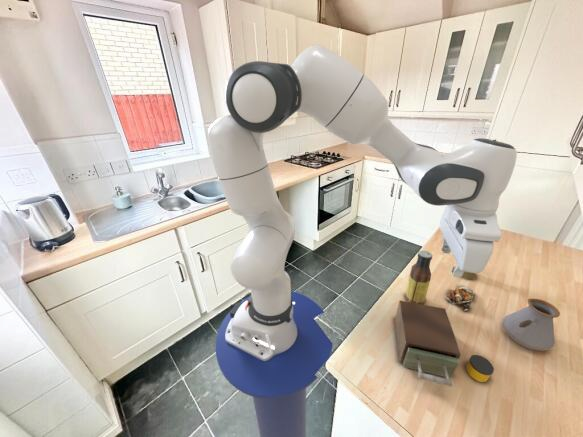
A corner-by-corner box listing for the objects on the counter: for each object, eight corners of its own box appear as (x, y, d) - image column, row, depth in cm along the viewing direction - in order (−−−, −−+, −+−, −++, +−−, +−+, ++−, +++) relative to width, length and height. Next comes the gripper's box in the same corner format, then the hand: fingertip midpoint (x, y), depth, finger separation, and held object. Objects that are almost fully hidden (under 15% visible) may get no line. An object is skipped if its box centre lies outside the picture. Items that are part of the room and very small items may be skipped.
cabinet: (450, 374, 64) (461, 354, 60) (399, 362, 67) (406, 342, 63) (437, 327, 76) (445, 308, 72) (394, 319, 79) (399, 300, 75)
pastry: (475, 293, 88) (479, 285, 86) (467, 312, 81) (470, 305, 79) (454, 283, 92) (456, 276, 91) (444, 301, 85) (446, 293, 83)
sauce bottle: (426, 298, 86) (441, 253, 77) (420, 309, 82) (435, 263, 73) (407, 289, 90) (419, 246, 81) (401, 299, 86) (413, 254, 77)
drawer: (456, 398, 58) (466, 382, 55) (405, 385, 61) (411, 369, 58) (438, 333, 73) (444, 317, 70) (398, 324, 76) (402, 309, 73)
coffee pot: (510, 315, 79) (531, 281, 72) (557, 343, 70) (585, 307, 63) (473, 345, 71) (492, 309, 63) (521, 382, 62) (550, 345, 54)
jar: (469, 379, 62) (474, 371, 61) (463, 361, 67) (467, 352, 65) (491, 384, 61) (497, 376, 59) (483, 365, 65) (489, 357, 64)
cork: (456, 267, 100) (464, 245, 95) (473, 271, 98) (483, 249, 93) (457, 276, 96) (466, 254, 90) (475, 281, 93) (486, 258, 88)
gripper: (440, 195, 64) (427, 239, 70) (467, 235, 47) (447, 288, 53) (468, 197, 62) (452, 241, 69) (506, 240, 45) (480, 294, 52)
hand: (450, 262), depth 61 cm, fingers open, 8 cm apart
